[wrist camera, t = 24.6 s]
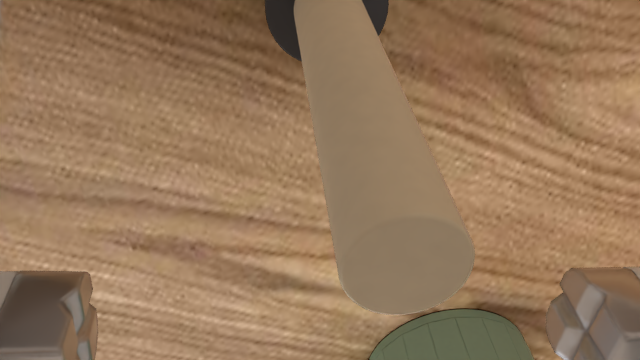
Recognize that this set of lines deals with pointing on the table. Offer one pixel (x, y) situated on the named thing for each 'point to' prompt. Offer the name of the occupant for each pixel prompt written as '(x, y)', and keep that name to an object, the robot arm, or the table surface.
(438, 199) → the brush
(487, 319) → the jar
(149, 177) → the table surface
